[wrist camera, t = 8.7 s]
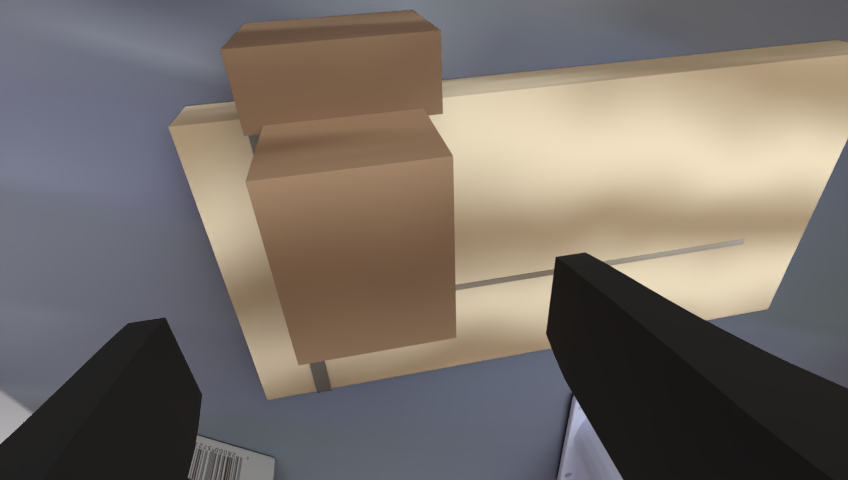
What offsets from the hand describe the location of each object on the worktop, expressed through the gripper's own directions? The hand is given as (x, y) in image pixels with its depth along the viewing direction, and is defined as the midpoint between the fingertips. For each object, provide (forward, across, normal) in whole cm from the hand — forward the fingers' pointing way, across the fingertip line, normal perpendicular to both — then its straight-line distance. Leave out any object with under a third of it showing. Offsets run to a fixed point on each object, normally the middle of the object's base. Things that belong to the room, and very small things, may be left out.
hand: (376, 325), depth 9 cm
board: (+9, -7, +4) cm, 12 cm away
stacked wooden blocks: (+9, 0, +1) cm, 9 cm away
